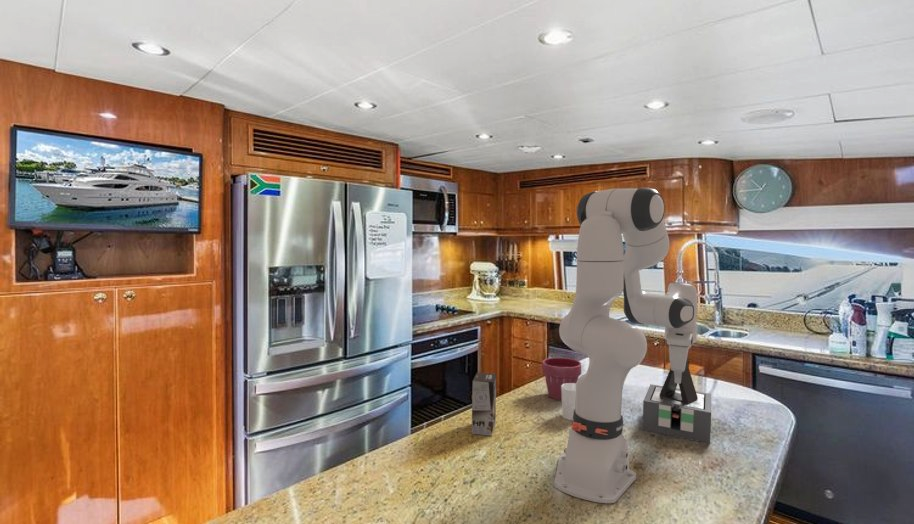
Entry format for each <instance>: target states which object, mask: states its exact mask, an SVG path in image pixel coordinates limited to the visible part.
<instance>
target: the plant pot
mask: <svg viewBox="0 0 914 524" xmlns="http://www.w3.org/2000/svg"><path fill="white" fill-rule="evenodd" d="M541 363H542V364H541V365H542V366H541V370H542V373H544V377H545V383H546V384H545V385H546V388H547V393H548V396H549V397H550V398H551V399H552V400H553V399H554V400H557V401H562V395H561V385H562V384H565V383H576V382H577V380H578V379H579V378H580V377H579V376H582V362H580V361H579V360H578V359H573V358H569V357H549V358H545V359H543V360H542V362H541Z"/></svg>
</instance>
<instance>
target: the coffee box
mask: <svg viewBox="0 0 914 524" xmlns="http://www.w3.org/2000/svg"><path fill="white" fill-rule="evenodd" d="M471 387H472V388H471V389H472V394H471V395H472V396H471V397H472V401H471V403H472V404H471V434H472V435H481V436H482V435H483V436H488V437H489V436H493V433H494V430H495V427H496V421H497V420H496V419H497V418H496V417H497V416H496V415H497V411H496V410H497V373H494V372H492V373H491V372H476V373H475V375H474V378H473V379H472V386H471Z"/></svg>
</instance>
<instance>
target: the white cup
mask: <svg viewBox="0 0 914 524" xmlns="http://www.w3.org/2000/svg"><path fill="white" fill-rule="evenodd" d="M561 395H562V400H561V409H562V410H561V411H562V412H561V413H562V418H564V419H565V420H568V421H570V422H571V421H572V418H573V413H574V410H575V399H576V383H565V384H562V385H561ZM572 422H573V421H572Z"/></svg>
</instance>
